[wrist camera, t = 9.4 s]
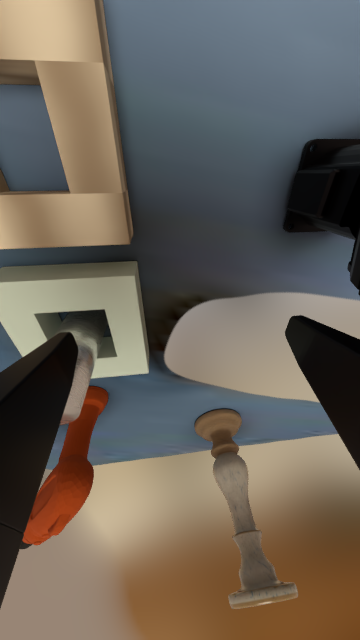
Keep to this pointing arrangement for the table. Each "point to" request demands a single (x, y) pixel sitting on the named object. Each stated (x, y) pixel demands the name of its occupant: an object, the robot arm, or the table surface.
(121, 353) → the square block with hole
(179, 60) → the table surface
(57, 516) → the toy drill
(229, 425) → the candle holder
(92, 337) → the silver flared cylinder
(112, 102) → the socket block
